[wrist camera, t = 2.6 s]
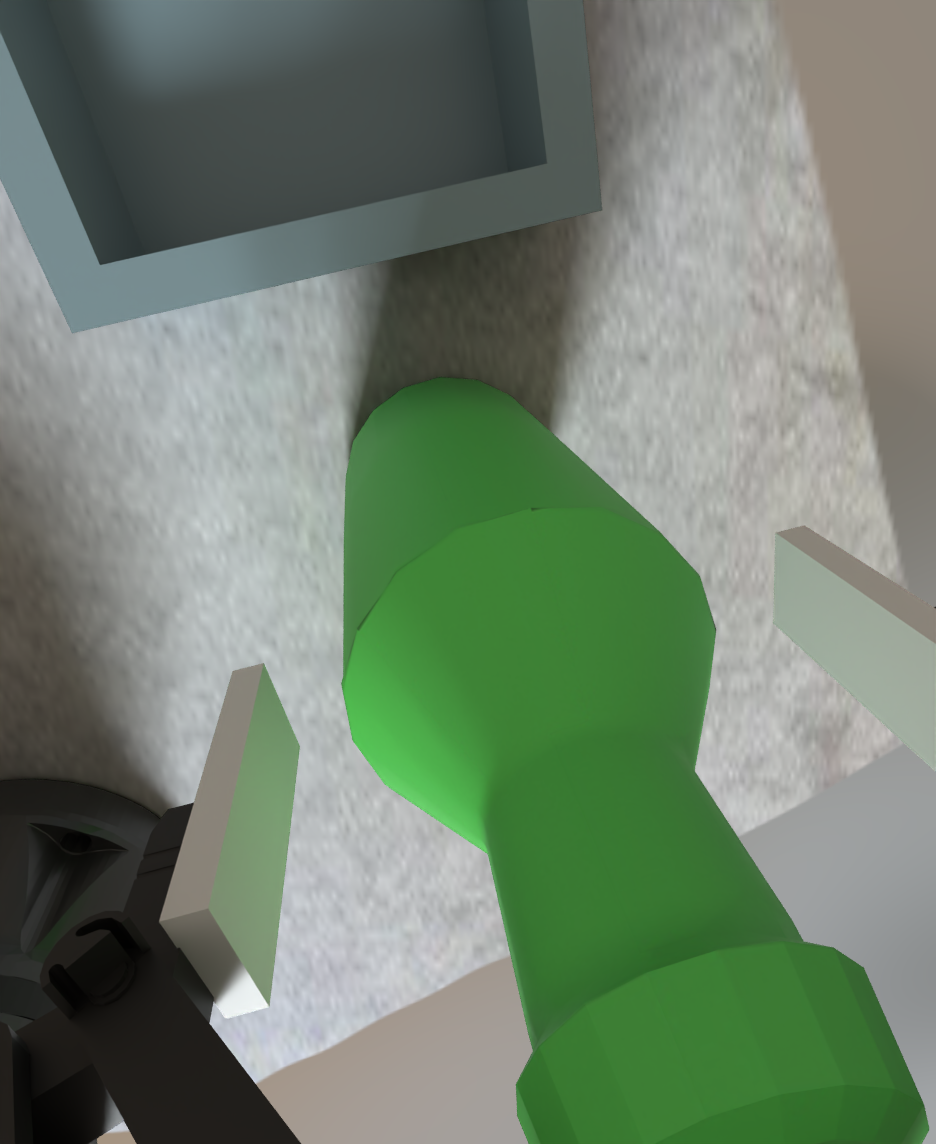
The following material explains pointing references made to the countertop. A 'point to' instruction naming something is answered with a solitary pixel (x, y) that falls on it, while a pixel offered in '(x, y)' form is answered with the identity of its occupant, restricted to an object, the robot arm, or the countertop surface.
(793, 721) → the countertop surface
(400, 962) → the countertop surface
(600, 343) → the countertop surface
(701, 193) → the countertop surface
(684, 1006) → the bottle
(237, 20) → the bin
